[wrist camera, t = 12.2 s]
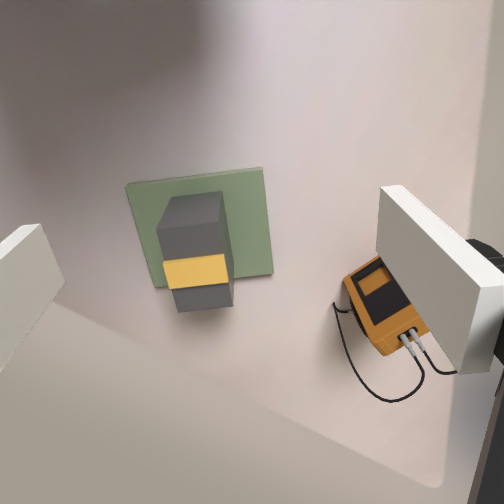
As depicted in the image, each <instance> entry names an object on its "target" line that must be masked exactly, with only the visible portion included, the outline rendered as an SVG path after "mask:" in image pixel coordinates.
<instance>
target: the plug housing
mask: <svg viewBox="0 0 504 504" xmlns="http://www.w3.org/2000/svg"><path fill="white" fill-rule="evenodd" d="M156 232H157V236H158V240H159V243H160V247H161V251H162V255H163V258H164V262H163V267H164V271H165V275H166V278H167V282H168V286H169V289H172V292H173V295H174V299H175V303H176V307H177V310H178V313H179V312H188V311H197V310H205V309H214V308H223V307H232V306H233V287H234V261H233V254H232V248H231V242H230V236H229V230H228V224H227V218H226V212H225V206H224V200H223V194H222V191H217V192H209V193H201V194H193V195H185V196H177V197H171V199H170V201H169V203H168V205H167V207H166V209H165V211H164V213H163V215H162V217H161V220H160V222H159V224H158V226H157V228H156Z"/></svg>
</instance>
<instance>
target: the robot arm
mask: <svg viewBox="0 0 504 504" xmlns="http://www.w3.org/2000/svg"><path fill="white" fill-rule="evenodd" d="M376 251H377V253H378V254H379V256H380V257H381V259H382V260H383V262H384V263H385V265H386V266H387V268H388V269H389V271H390V272H391V274H392V275H393V277H394V278H395V280H396V281H397V283H398V284H399V285H400V287H401V288H402V290H403V291H404V293H405V294H406V296H407V297H408V299H409V300H410V302H411V303H412V305H413V306H414V308H415V309H416V311H417V312H418V314H419V315H420V317H421V318H422V320H423V321H424V323H425V324H426V326H427V327H428V329H429V330H430V332H431V333H432V335H433V336H434V338H435V339H436V341H437V342H438V344H439V345H440V347H441V348H442V350H443V351H444V353H445V354H446V356H447V357H448V359H449V360H450V362H451V363H452V365H453V366H454V368H455V369H456V371H457V372H458V374H471V373H481V372H489V370H490V366H491V363H492V360H493V357H494V354H495V356H496V357H497V358H498V359H499V360H500V362H501V363H502V364H503V365H504V258H503V257H502V255H501V254H500V253H499V252H497V251H496V250H495V249H494V248H492V247H491V246H489V245H487V244H485V243H482V242H480V241H478V240H475V239H469V240H464V239H463V238H462V237H461V236H459V235H458V234H457V233H456V232H455V231H454V230H452V229H451V228H450V227H449V226H448V225H447V224H445V223H444V222H443V221H442V220H441V219H440V218H439V217H437V216H436V215H435V214H434V213H433V212H432V211H430V210H429V209H428V208H427V207H426V206H425V205H423V204H422V203H421V202H420V201H419V200H418V199H417V198H415V197H414V196H413V195H412V194H411V193H410V192H408V191H407V190H406V189H405V188H404V187H403V186H401V185H395V186H386V187H380V201H379V214H378V227H377V241H376ZM64 284H65V280H64V277H63V275H62V272H61V270H60V268H59V265H58V263H57V261H56V258H55V256H54V254H53V251H52V249H51V246H50V244H49V242H48V239H47V237H46V235H45V232H44V230H43V228H42V225H41V223H40V224H31V225H21V226H20V227H19V228H18V229H17V230H15V231H14V232H13V233H12V234H11V235H9V236H8V237H7V238H6V239H5V240H3V241H2V242H1V243H0V372H1V370H2V369H3V368H4V366H5V365H6V364H7V362H8V361H9V359H10V358H11V357H12V355H13V354H14V352H15V351H16V350H17V348H18V347H19V346H20V344H21V343H22V342H23V340H24V339H25V337H26V336H27V335H28V333H29V332H30V331H31V329H32V328H33V326H34V325H35V324H36V322H37V321H38V319H39V318H40V317H41V315H42V314H43V313H44V311H45V310H46V308H47V307H48V306H49V304H50V303H51V302H52V300H53V299H54V297H55V296H56V295H57V293H58V292H59V291H60V289H61V288H62V286H63V285H64ZM495 397H496V398H495V401H494V405H493V409H492V413H491V417H490V420H489V424H488V428H487V431H486V435H485V439H484V442H483V447H482V450H481V454H480V458H479V462H478V465H477V468H476V472H475V476H474V480H473V483H472V487H471V491H470V495H469V499H468V502H467V504H504V369H503V372H502V375H501V379H500V382H499V384H498V388H497V390H496V394H495Z"/></svg>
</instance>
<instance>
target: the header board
mask: <svg viewBox="0 0 504 504" xmlns="http://www.w3.org/2000/svg"><path fill="white" fill-rule="evenodd" d="M125 189H126V193H127V196H128V199H129V203H130V206H131V209H132V213H133V216H134V220H135V223H136V226H137V230H138V233H139V236H140V240H141V243H142V246H143V250H144V253H145V257H146V260H147V263H148V267H149V270H150V273H151V277H152V280H153V283H154V287H155V288H156V287H164V286H168V282H167V278H166V275H165V271H164V267H163V262H164V258H163V255H162V251H161V247H160V243H159V240H158V236H157V232H156V228H157V226H158V224H159V222H160V220H161V217H162V215H163V213H164V211H165V209H166V207H167V205H168V203H169V201H170V199H171V197H177V196H185V195H193V194H201V193H209V192H217V191H222V194H223V200H224V206H225V212H226V218H227V224H228V230H229V236H230V242H231V248H232V254H233V261H234V278H240V277H248V276H257V275H265V274H274V269H273V260H272V251H271V242H270V232H269V223H268V214H267V205H266V196H265V187H264V178H263V169H262V167H257V168H249V169H242V170H234V171H226V172H218V173H210V174H202V175H195V176H187V177H179V178H171V179H163V180H156V181H148V182H140V183H132V184H127V185H126V187H125Z"/></svg>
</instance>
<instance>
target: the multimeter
mask: <svg viewBox="0 0 504 504" xmlns="http://www.w3.org/2000/svg"><path fill="white" fill-rule="evenodd" d="M343 282H344V283H345V286H346V288H347V290H348V293H349V298H350V304H351V308H352V310H350V311H340V310H338V309H337V308H336V306H335V302H333V306H334V310H335V314H336V318H337V322H338V326H339V330H340V334H341V337H342V341H343V345H344V348H345V351H346V354H347V357H348V359H349V362H350V364H351V366H352V368H353V370H354V372H355V374H356V375H357V377H358V378H359V380H360V381H361V383H362V384H363V385H364V387H365V388H366V389H367V390H368V391H369V392H370V393H371V394H372V395H373V396H374V397H376V398H378V399H380V400H381V401H385V402H389V403H393V402H399V401H402V400H404V399H406V398H408V397H410V396H412V395H413V394H414V393H415V392H416V391H417V390H418V389H419V388H420V387H421V385H422V383H423V381H424V377H425V372H424V369H423V368H422V366H421V364H420V363H419V361H418V359H417V357H416V354H415V353H414V351H413V349H412V345H411V344H410V342H412V341H413V340H414V342H415V343H417V344H418V346H419V348H420V349H421V351H422V352H423V353H424V354H425V356H426V357H427V359H428V361H429V362H430V364H431V366H432V367H433V369H434V370H435V371H436V372H438V373H439V374H442V375H450V374H455V373H458V372H457V371H456V370H455V371H451V372H442V371H440V370H438V369H437V368H436V367H435V366H434V364H433V363H432V361H431V359H430V358H429V356H428V355H427V353H426V350H425V348H424V347H423V345H422V343H421V340H420V338H419V337H420V336H422V335H424V334H426V333H427V332H429V331H430V330H429V329H428V327H427V326H426V324H425V323H424V321H423V320H422V318H421V317H420V315H419V314H418V312H417V311H416V309H415V308H414V306H413V305H412V303H411V302H410V300H409V299H408V297H407V296H406V294H405V293H404V291H403V290H402V288H401V287H400V285H399V284H398V283H397V281H396V280H395V278H394V277H393V275H392V274H391V272H390V271H389V269H388V268H387V266H386V265H385V263H384V262H383V260H382V259H381V257H380V256H377V257H376V258H374V259H373V260H371V261H370V262H368V263H367V264H365V265H364V266H362V267H361V268H359V269H358V270H356V271H355V272H353V273H352V274H349V275H348V276H346V277H345V278H344V280H343ZM336 310H337V311H338V312H340V313H350V314H353V313H354V316H355V318H356V320H357V322H358V324H359V326H360V328H361V330H362V331H363V333H364V334H365V335H366V337H368V339H369V340H370V342H371V343H372V344H373V346H374V347H375V348H376V349H377V350H378V351H379V352H380V353H381V354H382V355H383V356H387V355H389V354H391V353H393V352H394V351H396V350H398V349H399V348H401V347H403V346H405V347H406V348H407V349H408V350H409V352H410V353H411V355H412V357H413V358H414V359H415V361H416V363H417V364H418V366H419V368H420V370H421V372H422V377H421V381H420V383H419V384H418V386H417V387H416V388H415V389H414V390H413V391H412V392H411V393H410V394H408V395H406V396H404V397H402V398H399V399H395V400H388V399H384V398H381V397H380V396H378V395H376V394H375V393H374V392H373V391H371V390H370V389H369V388H368V387H367V385H366V384H365V383H364V382H363V380H362V379H361V377H360V376H359V375H358V373H357V371H356V369H355V367H354V365H353V363H352V361H351V359H350V356H349V354H348V351H347V348H346V345H345V341H344V338H343V334H342V330H341V327H340V323H339V319H338V315H337V311H336Z"/></svg>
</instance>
